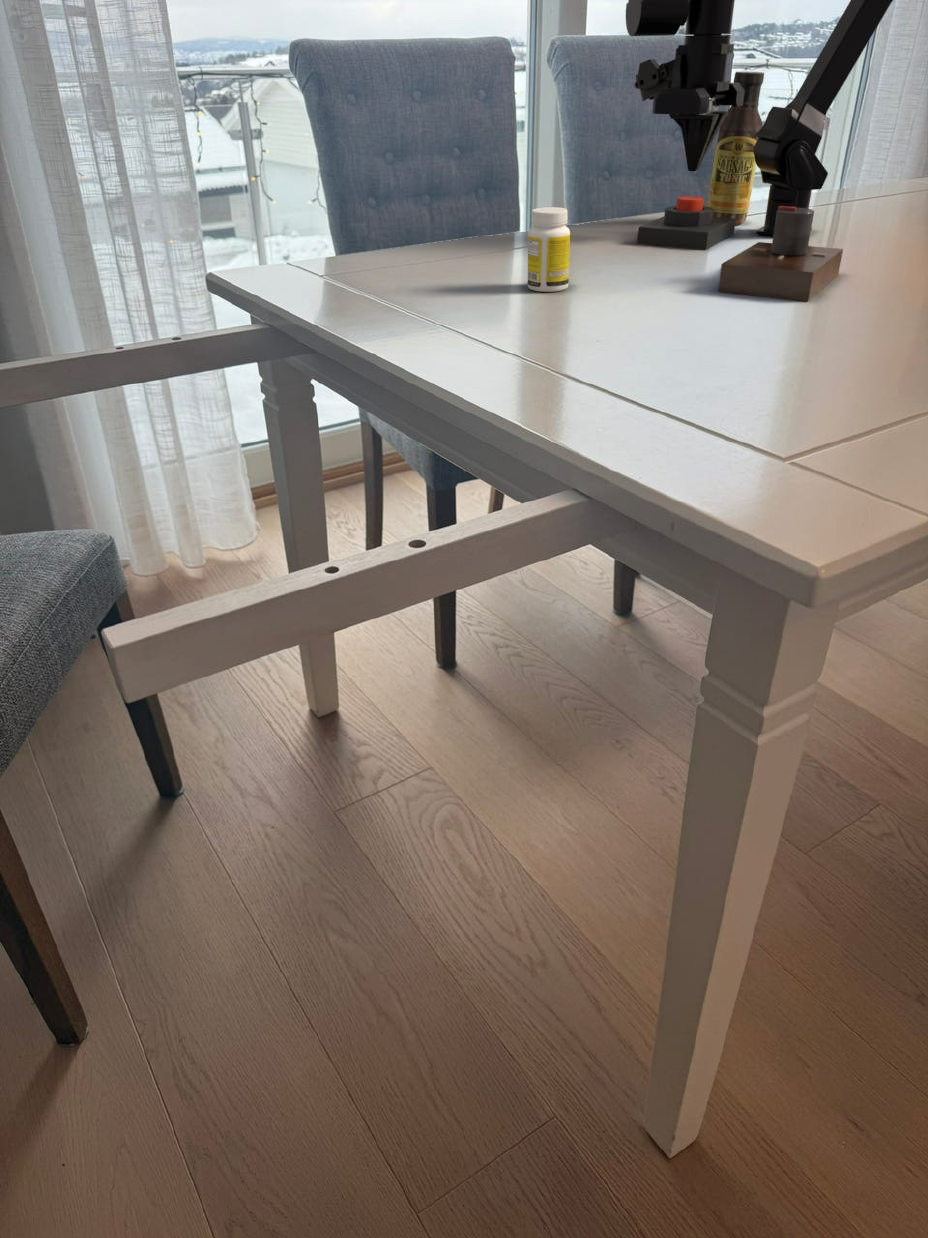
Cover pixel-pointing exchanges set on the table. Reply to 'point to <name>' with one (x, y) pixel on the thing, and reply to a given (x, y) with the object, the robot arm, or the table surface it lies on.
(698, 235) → the button box
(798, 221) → the knob
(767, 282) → the knob panel
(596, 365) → the table surface
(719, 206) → the sauce bottle
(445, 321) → the table surface
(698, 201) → the button
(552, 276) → the supplement bottle
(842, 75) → the robot arm
